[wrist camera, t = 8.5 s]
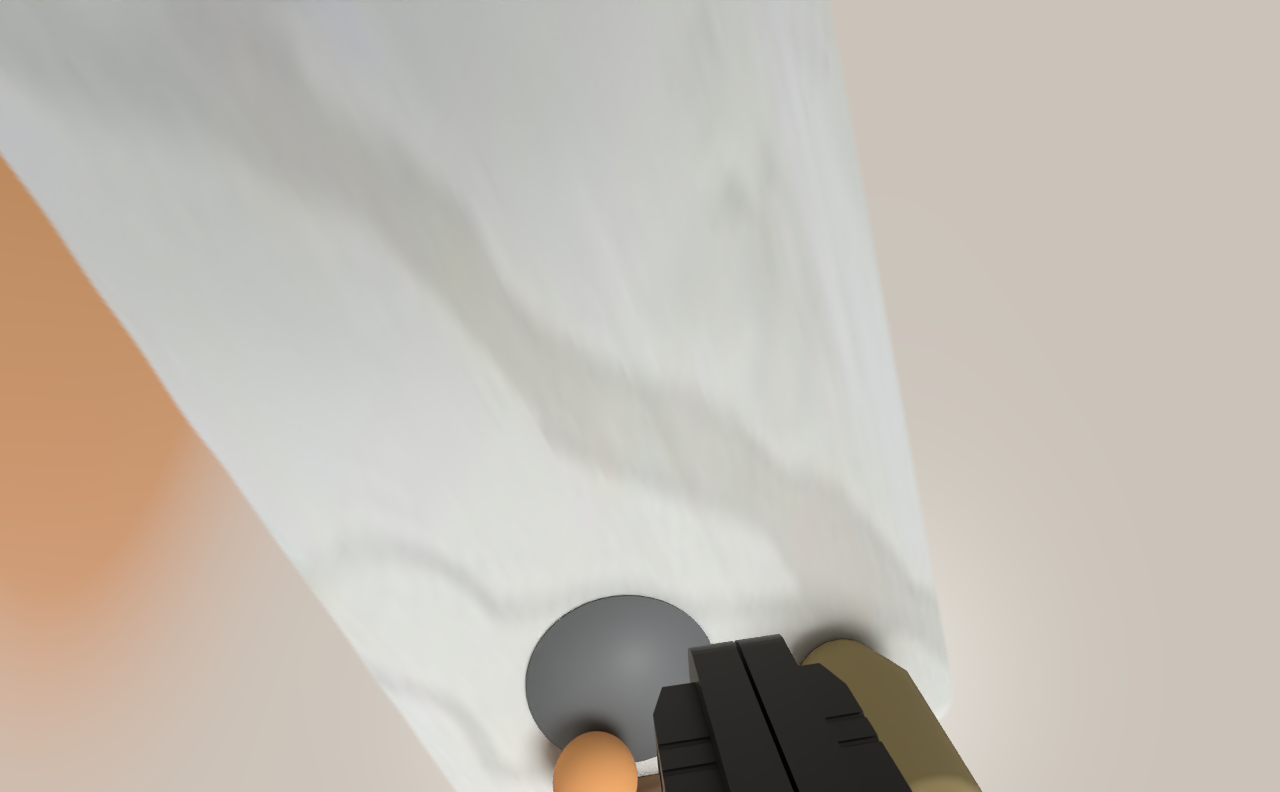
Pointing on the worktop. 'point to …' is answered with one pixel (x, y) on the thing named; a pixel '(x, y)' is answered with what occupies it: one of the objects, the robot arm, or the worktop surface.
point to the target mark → (610, 670)
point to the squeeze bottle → (898, 716)
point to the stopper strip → (648, 784)
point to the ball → (595, 765)
